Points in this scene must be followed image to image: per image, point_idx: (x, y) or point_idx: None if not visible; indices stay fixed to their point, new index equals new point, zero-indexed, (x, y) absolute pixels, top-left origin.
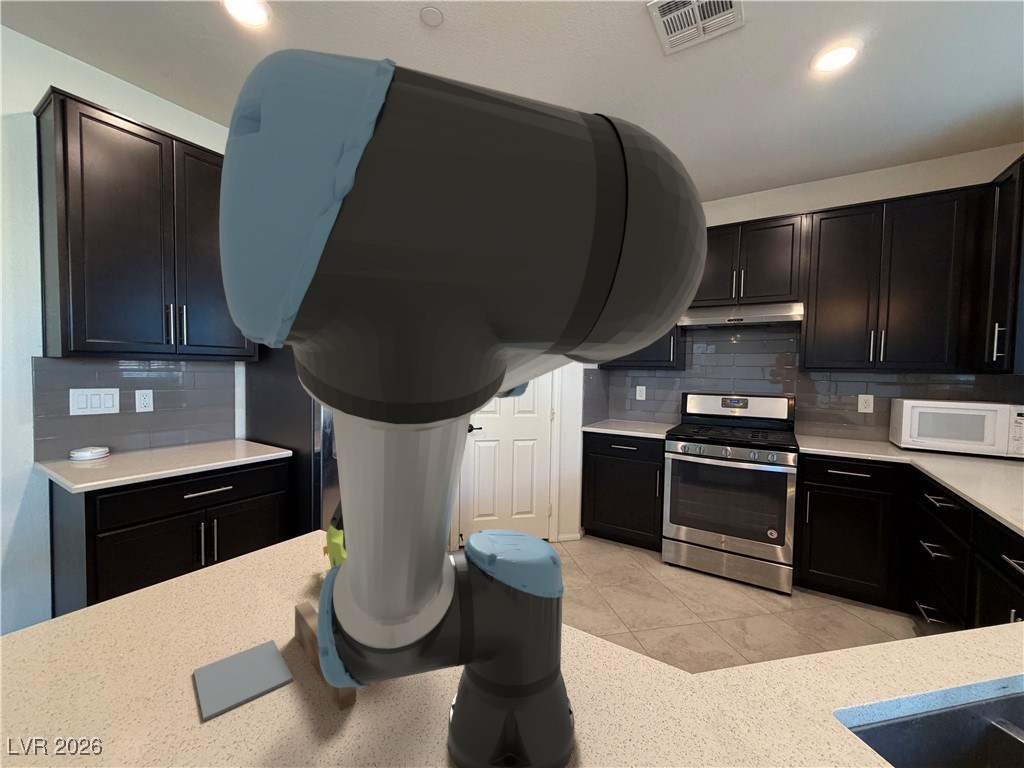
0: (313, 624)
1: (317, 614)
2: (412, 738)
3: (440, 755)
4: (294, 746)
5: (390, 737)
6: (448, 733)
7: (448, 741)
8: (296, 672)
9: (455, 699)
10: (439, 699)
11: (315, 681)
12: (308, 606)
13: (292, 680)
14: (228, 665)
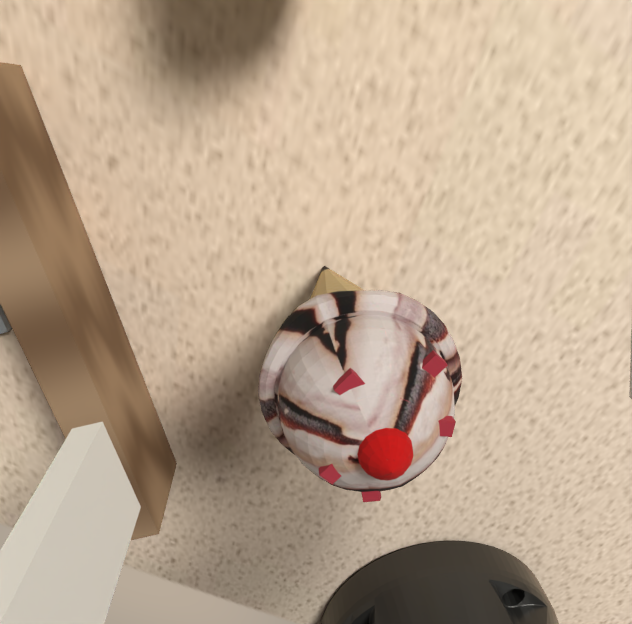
0: (8, 284)
1: (16, 217)
2: (269, 579)
3: (303, 619)
4: None
5: (231, 564)
6: (327, 621)
7: (324, 612)
8: None
9: (362, 617)
10: (349, 525)
11: None
12: None
13: (9, 327)
14: None
